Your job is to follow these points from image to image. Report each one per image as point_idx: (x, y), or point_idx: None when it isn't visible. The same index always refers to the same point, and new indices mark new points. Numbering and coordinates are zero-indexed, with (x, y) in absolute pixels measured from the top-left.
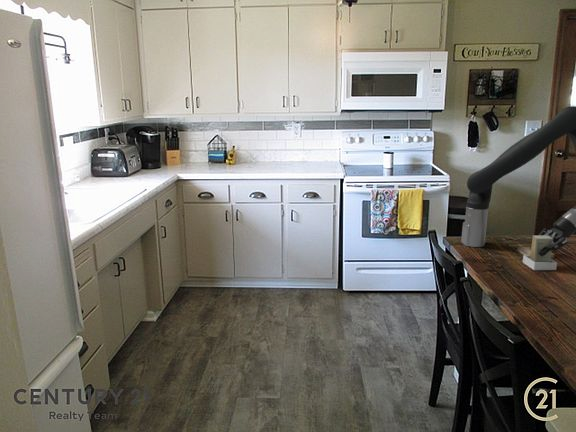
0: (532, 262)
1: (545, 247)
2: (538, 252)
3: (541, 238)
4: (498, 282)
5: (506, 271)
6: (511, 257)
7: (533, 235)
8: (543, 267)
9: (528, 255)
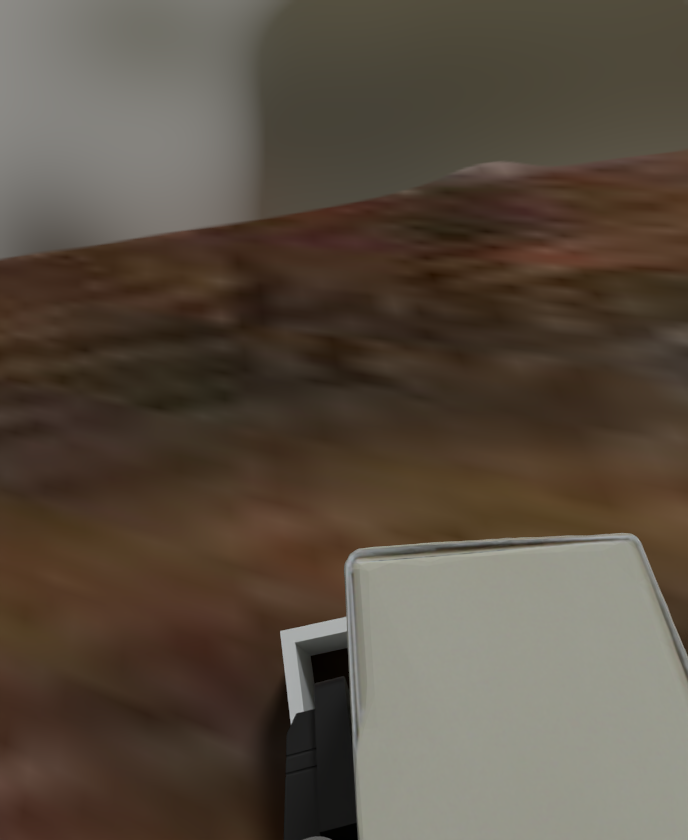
0: (334, 621)
1: (320, 813)
2: (341, 677)
3: (363, 693)
4: (37, 312)
5: (244, 391)
6: (678, 512)
7: (637, 551)
8: None
9: None
